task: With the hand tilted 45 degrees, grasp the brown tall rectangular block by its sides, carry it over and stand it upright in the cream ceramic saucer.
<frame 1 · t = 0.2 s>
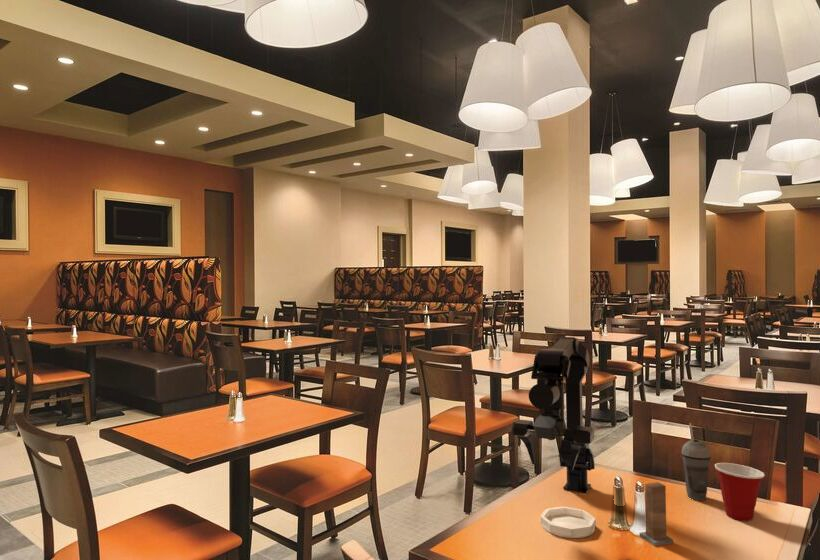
hand: (552, 467, 133), 14 cm above the table, tool pointing down, fingers open, 9 cm apart
beverage cup: (696, 498, 149), on the table
saucer: (568, 526, 133), on the table
plastic cup: (740, 516, 137), on the table
brown tall rectangular block: (656, 539, 126), on the table
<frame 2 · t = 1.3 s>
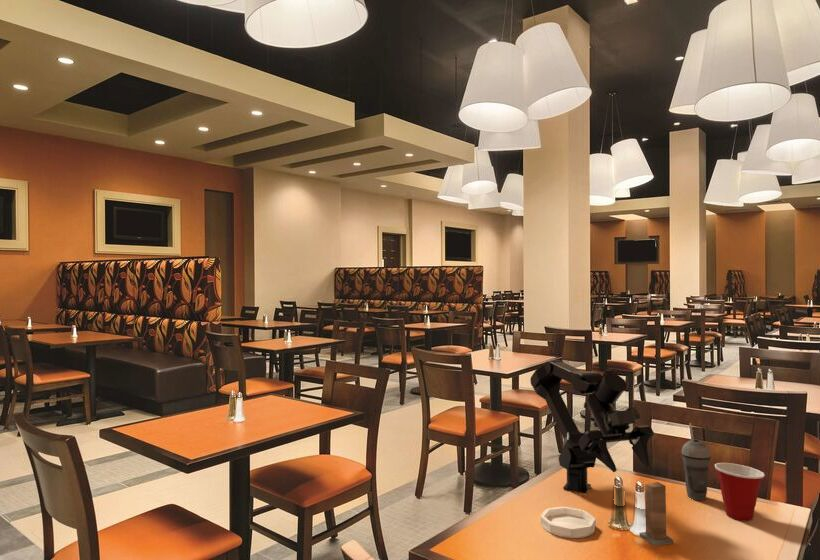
hand: (631, 469, 134), 13 cm above the table, tool tilted 45°, fingers open, 9 cm apart
nothing on the table moved.
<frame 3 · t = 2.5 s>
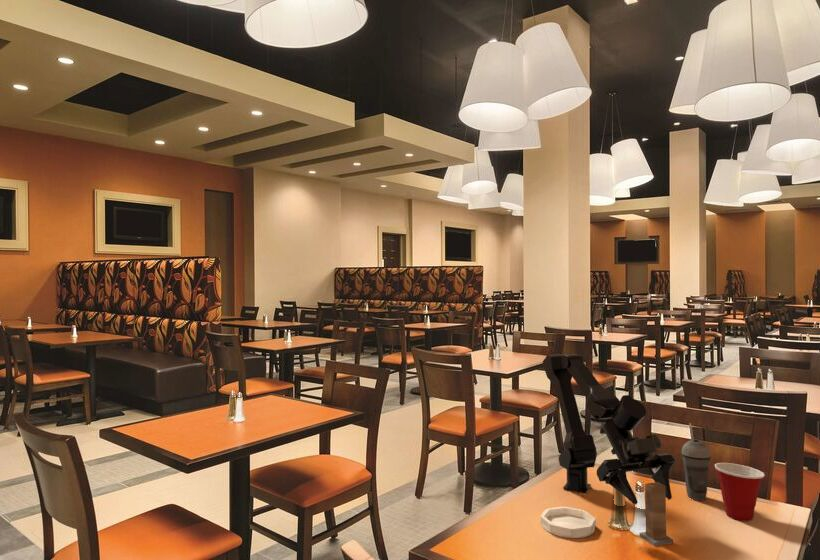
hand: (653, 501, 126), 8 cm above the table, tool tilted 45°, fingers open, 9 cm apart
nothing on the table moved.
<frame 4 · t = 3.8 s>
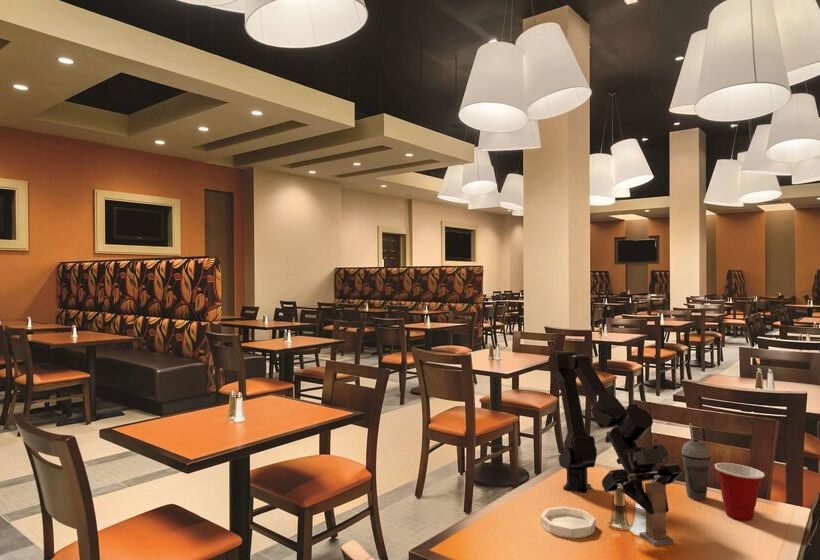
hand: (659, 512, 124), 7 cm above the table, tool tilted 45°, fingers closed on brown tall rectangular block, 3 cm apart
brown tall rectangular block: (656, 539, 126), on the table, touching gripper
everything else where it was.
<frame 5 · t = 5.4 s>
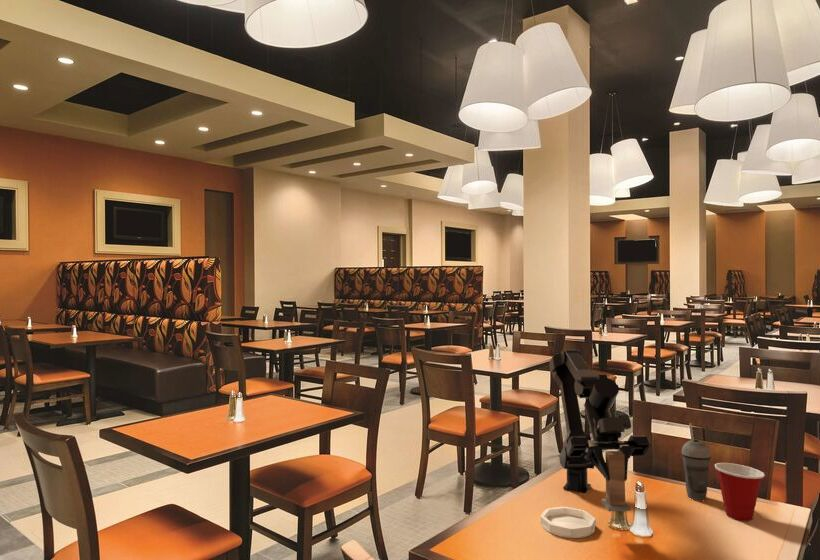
hand: (617, 480, 126), 13 cm above the table, tool tilted 45°, fingers closed on brown tall rectangular block, 3 cm apart
brown tall rectangular block: (615, 506, 128), point 7 cm above the table, touching gripper
everything else where it was.
when the fingers open (8 cm above the table, at t = 7.3 s): brown tall rectangular block drops 1 cm, resting on saucer.
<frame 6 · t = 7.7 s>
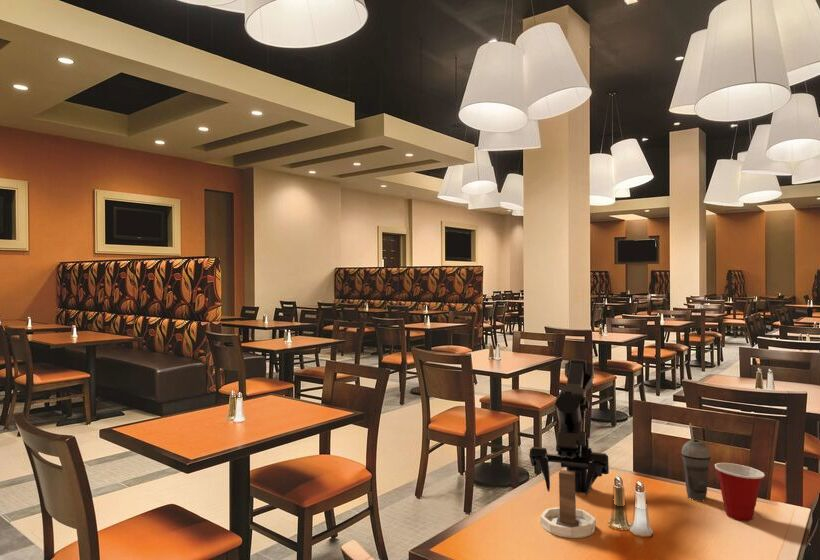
hand: (566, 492, 132), 9 cm above the table, tool tilted 45°, fingers open, 8 cm apart
brown tall rectangular block: (567, 523, 133), point 1 cm above the table, touching saucer
everything else where it was.
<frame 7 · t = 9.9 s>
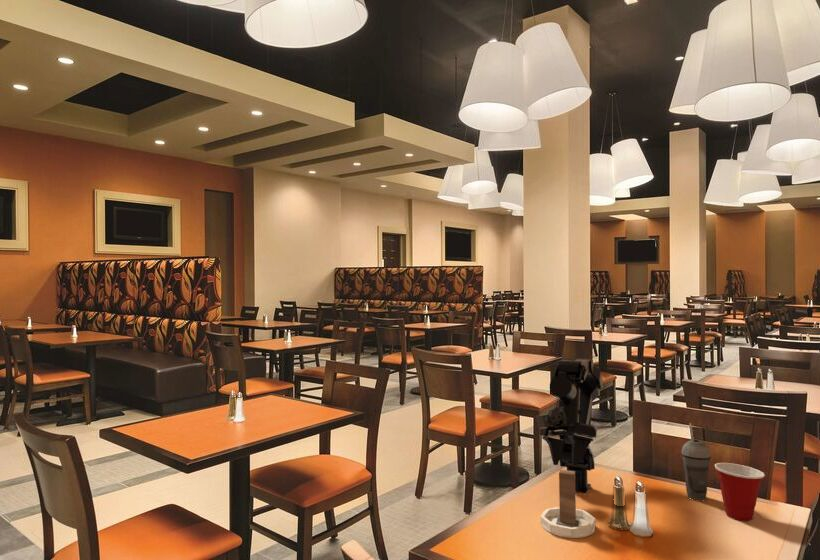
hand: (564, 465, 144), 11 cm above the table, tool tilted 25°, fingers open, 9 cm apart
nothing on the table moved.
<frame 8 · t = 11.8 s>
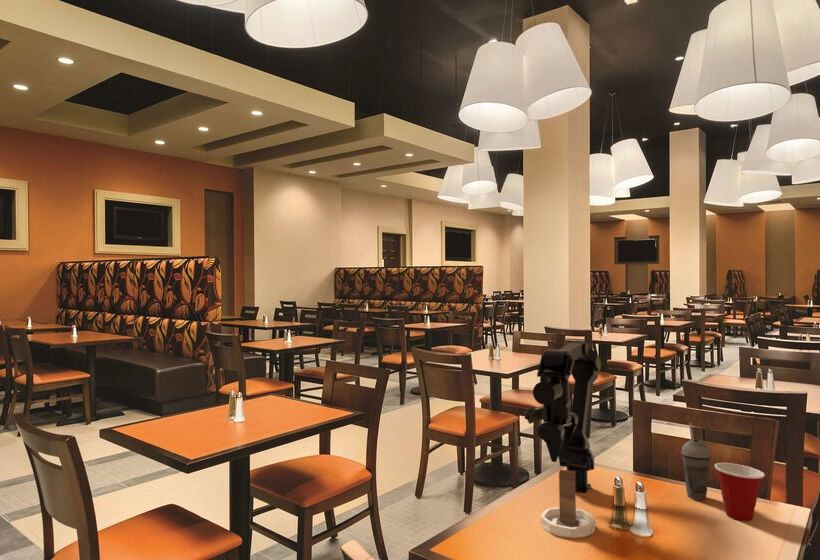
hand: (558, 456, 145), 13 cm above the table, tool pointing down, fingers open, 9 cm apart
nothing on the table moved.
at the end: brown tall rectangular block 0.0 cm from the saucer (horizontally); brown tall rectangular block tilted 0°; brown tall rectangular block point 0.6 cm above the table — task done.
